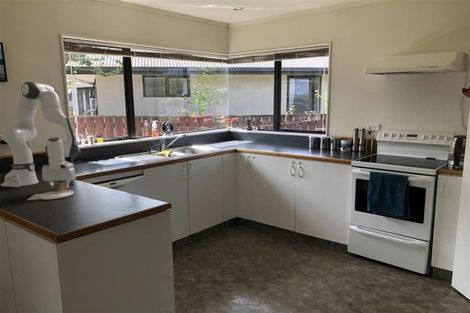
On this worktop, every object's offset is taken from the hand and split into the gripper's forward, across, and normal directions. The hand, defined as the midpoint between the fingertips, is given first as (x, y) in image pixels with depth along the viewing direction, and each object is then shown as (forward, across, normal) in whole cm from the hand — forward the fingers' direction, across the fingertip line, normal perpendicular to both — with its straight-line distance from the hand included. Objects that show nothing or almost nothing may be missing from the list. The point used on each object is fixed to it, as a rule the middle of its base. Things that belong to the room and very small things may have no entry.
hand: (60, 187), depth 217 cm
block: (+2, 0, 0) cm, 2 cm away
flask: (+2, -4, +12) cm, 13 cm away
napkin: (+2, -4, -13) cm, 14 cm away
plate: (+2, +6, -11) cm, 13 cm away
